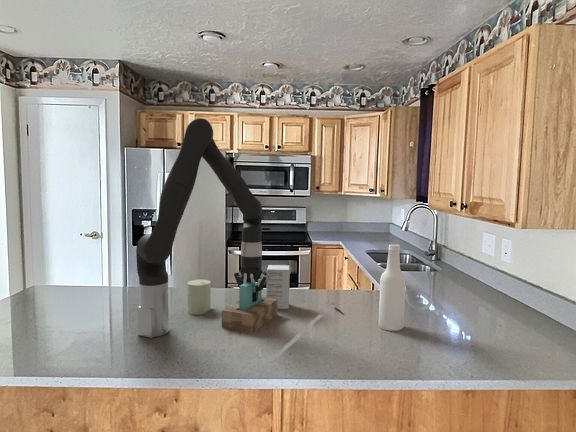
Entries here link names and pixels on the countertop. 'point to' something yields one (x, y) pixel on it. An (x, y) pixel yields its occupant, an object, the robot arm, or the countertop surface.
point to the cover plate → (248, 296)
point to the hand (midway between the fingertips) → (250, 300)
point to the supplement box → (278, 284)
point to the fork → (334, 307)
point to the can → (199, 296)
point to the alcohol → (392, 293)
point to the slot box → (249, 315)
